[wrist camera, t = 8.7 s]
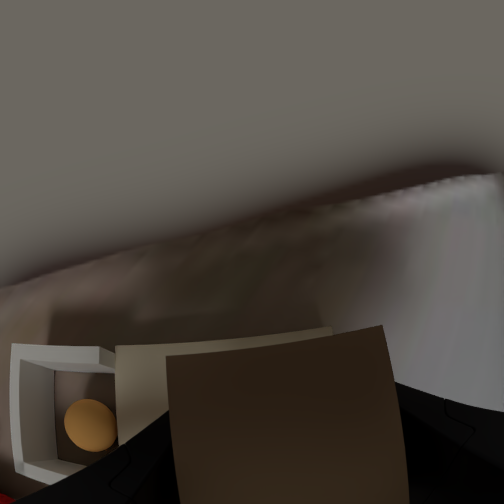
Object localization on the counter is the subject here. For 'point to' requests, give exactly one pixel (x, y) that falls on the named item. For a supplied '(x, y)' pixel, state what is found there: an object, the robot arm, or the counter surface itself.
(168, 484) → the robot arm
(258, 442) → the brown wooden block
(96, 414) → the ball
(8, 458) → the counter surface
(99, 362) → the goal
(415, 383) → the counter surface
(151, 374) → the board
